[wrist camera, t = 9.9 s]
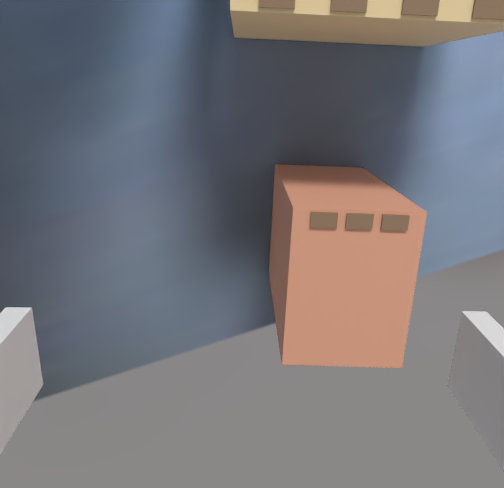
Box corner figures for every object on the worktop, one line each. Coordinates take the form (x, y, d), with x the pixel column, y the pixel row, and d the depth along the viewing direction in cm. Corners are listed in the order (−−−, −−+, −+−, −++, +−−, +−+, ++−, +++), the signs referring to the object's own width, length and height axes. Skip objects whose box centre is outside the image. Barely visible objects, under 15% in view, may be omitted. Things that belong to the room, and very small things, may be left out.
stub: (275, 164, 33) (293, 208, 21) (362, 167, 33) (428, 213, 21) (268, 273, 35) (282, 366, 24) (350, 276, 35) (402, 369, 24)
